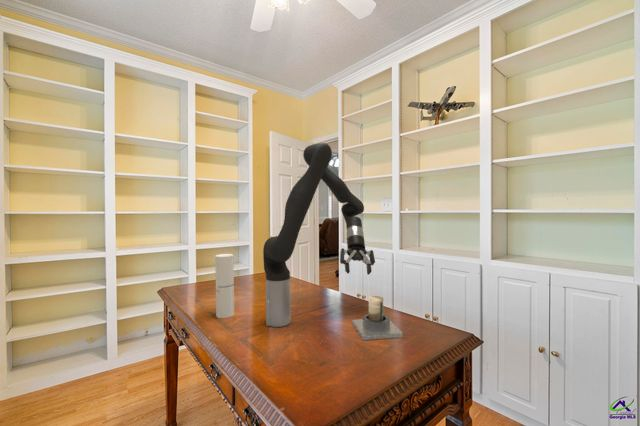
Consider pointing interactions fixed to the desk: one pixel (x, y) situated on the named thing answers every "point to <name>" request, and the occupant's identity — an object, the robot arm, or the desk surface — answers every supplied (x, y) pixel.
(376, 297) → the cream rounded cylinder
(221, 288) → the cylindrical container
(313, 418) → the desk surface
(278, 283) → the robot arm
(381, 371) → the desk surface
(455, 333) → the desk surface
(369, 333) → the socket plate
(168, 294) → the desk surface
